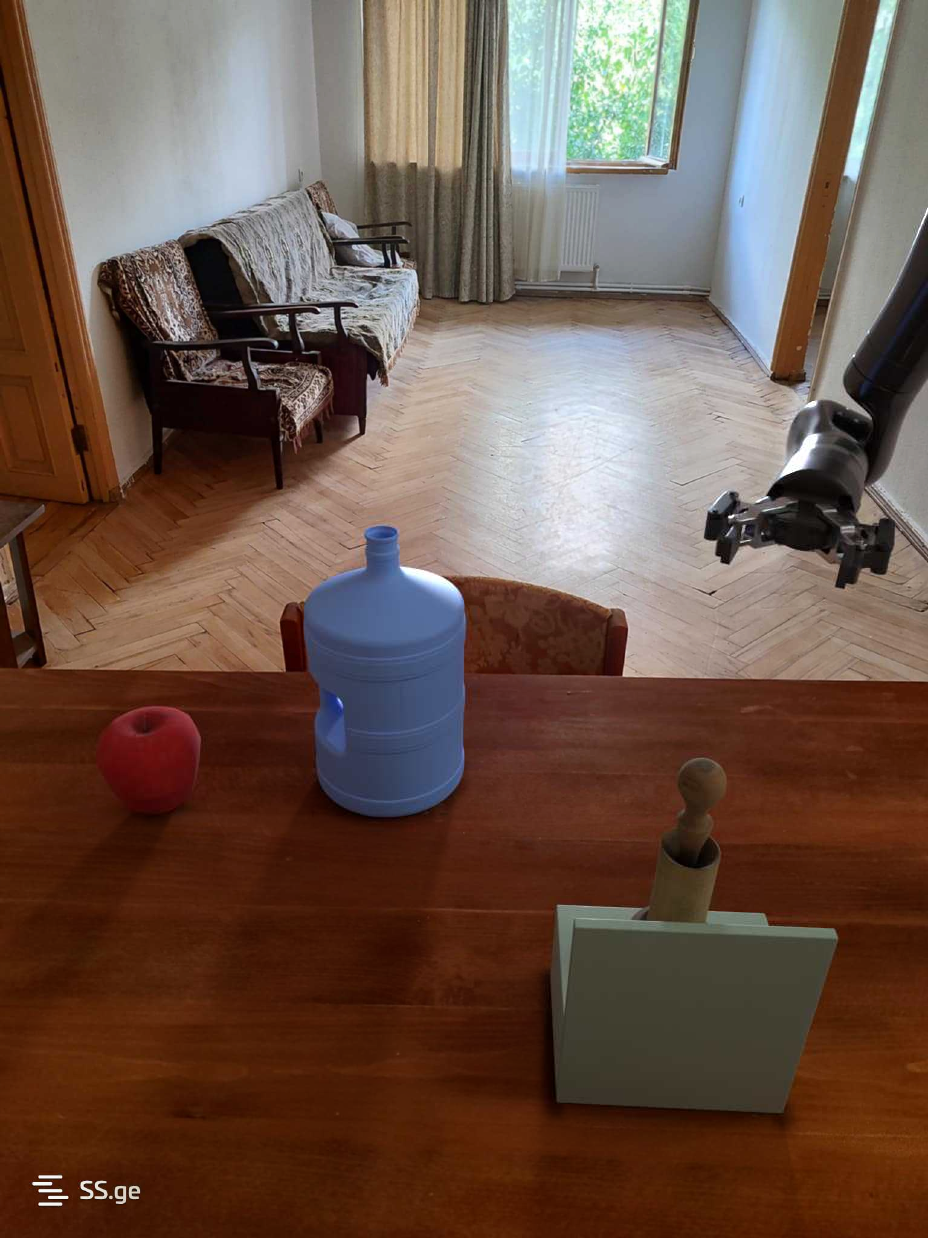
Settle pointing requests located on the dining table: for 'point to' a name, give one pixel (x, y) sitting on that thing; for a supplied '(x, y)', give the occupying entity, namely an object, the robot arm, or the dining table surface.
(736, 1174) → the dining table surface
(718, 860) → the mortar and pestle
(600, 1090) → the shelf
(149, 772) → the apple
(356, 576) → the water jug
